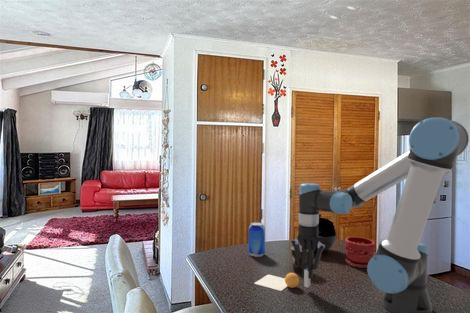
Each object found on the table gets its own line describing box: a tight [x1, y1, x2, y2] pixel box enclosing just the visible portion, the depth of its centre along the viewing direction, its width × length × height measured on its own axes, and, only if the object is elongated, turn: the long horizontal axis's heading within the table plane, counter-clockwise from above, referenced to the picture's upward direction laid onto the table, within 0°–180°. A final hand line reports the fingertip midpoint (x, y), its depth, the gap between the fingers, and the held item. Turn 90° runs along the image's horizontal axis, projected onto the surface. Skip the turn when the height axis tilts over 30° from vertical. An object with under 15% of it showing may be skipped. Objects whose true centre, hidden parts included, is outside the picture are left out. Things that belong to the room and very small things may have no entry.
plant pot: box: [344, 236, 376, 269], centre depth 156 cm, size 13×13×12 cm
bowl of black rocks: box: [314, 213, 338, 253], centre depth 177 cm, size 20×20×19 cm
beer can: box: [248, 221, 266, 258], centre depth 169 cm, size 8×8×16 cm
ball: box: [284, 272, 300, 289], centre depth 129 cm, size 6×6×6 cm
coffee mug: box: [290, 245, 308, 275], centre depth 148 cm, size 12×9×10 cm
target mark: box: [253, 273, 288, 292], centre depth 133 cm, size 12×12×1 cm
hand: (307, 285), depth 125 cm, fingers closed
